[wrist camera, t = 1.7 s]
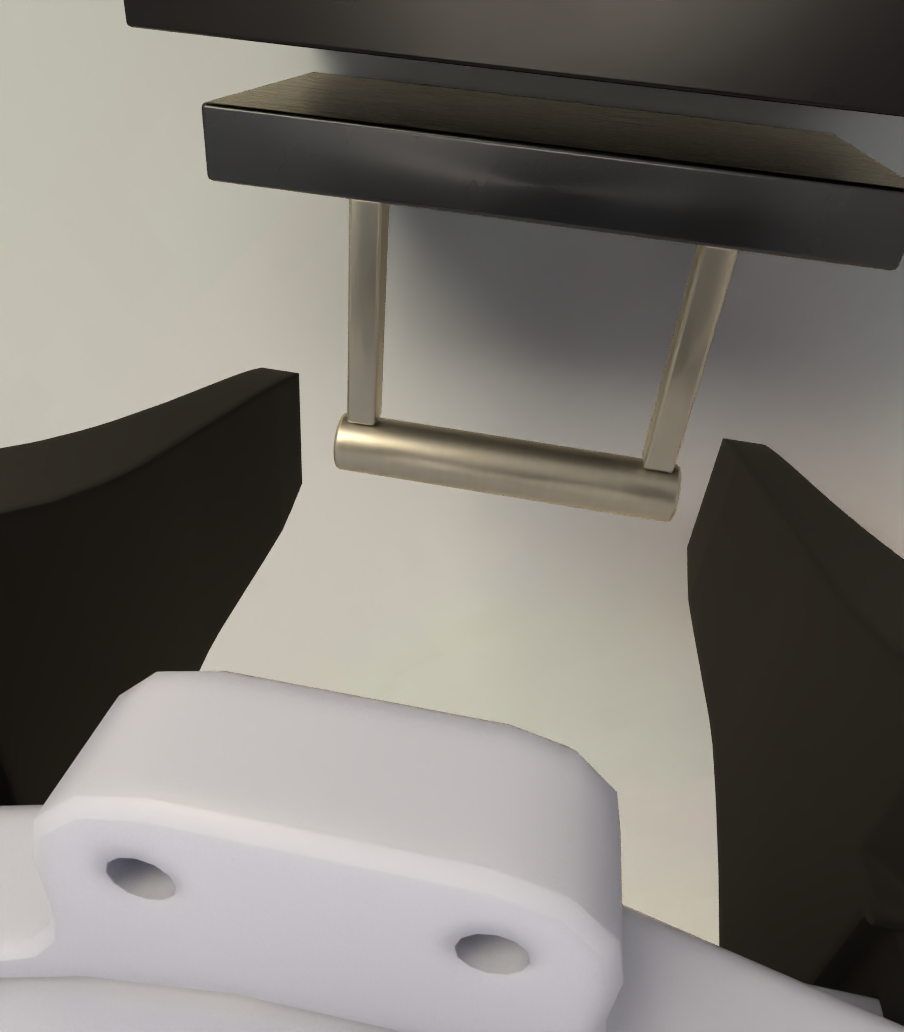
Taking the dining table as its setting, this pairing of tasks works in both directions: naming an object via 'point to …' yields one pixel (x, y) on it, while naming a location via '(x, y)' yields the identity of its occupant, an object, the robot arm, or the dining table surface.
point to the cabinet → (596, 40)
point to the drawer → (557, 202)
